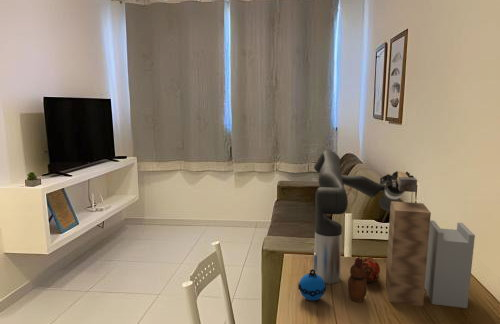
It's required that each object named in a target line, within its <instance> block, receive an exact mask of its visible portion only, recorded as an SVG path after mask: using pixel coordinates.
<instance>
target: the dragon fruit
mask: <svg viewBox="0 0 500 324" xmlns="http://www.w3.org/2000/svg"><path fill="white" fill-rule="evenodd" d="M362 266H364V268H365V276H364V278H365V280H366V283H370V282H372V281H377V280H379V274H380V271H381V269H380V268H381V267H380V265H379V263H378V262H375V260H374V259H373V258H372V257H370V256H369V257H367V258H362Z"/></svg>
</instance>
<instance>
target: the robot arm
mask: <svg viewBox="0 0 500 324" xmlns="http://www.w3.org/2000/svg"><path fill="white" fill-rule="evenodd" d="M313 167H314V170H315V171H316V172H317V173H318V186H319V187H318V188H317V189H316V191H315V197H314V198H315V203H314V204H315V205H314V206H315V224H314V225H315V228H314V249H313V251H314V252H313V263H312V264H313V266H312V269H313V270H315V274H317V275H319V276H320V277H321V278H322V279H323V280H324V282H325V284H328V285H329V284H335V283H339V281H340V280H341V278H340V276H341V259H342V258H341V255H342V252H341V251H342V234H343V233H342V232H343V227H342V225H341V224H340V223H339V222H337V221H335V220H333V219H330V218H329V217H327V216H326V215H342V214H344V213H345V212H346V211H347V209H348V205H349V203H348V202H349V201H348V194H347V191H346V189H345V186H348V187H350V188H352V189H354V190H357V191H359V192H360V193H362V194H364V195H366V196H367V197H369V198H371V199H372V198H375V197H377V195H378V194H379V193H380V192H382V194H381V196H380V198H379V201H378V204H379V207H380V208H381V209H382V210H384V211H387V212H390V206H391V201H394V202H399V200H400V199H401V197H402V196H403V195H404V193H405V192H406V191H399V189H398V183H397V181H396V179H397V177H398V170H396V171H395V172H393V173H392V174H388V173H387V174H386V175H383V176H382V177H380V178H379V180H380V181H379V183H378V182H376V181H374V180H372V179H371V178H369V177H366V176H364V175H353V174H352V175H345V174H342V173H341V172H342V171H341V158H340V156H339V155H338V154H337V153H336V152H335V151H332V150H324V151H322V153H321V154H320V156H318V159H317V160H316V163H315V164H314V165H313ZM405 174H406V175H407V176H408V177H413V178H415V176H414V175H411V174H410V172H408V171H406V172H405ZM312 273H314V272H313V271H312Z"/></svg>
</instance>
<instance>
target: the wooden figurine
mask: <svg viewBox="0 0 500 324" xmlns="http://www.w3.org/2000/svg"><path fill="white" fill-rule="evenodd" d="M362 259H363V256H358V257H357V258H356V259H354V264H352V265H351V266H350V270H349V271H350V272H349V273H350V276H349V277H348V279H347V294H348V297H349V299H351V300H352V301H354V302H362V301H363V300H364V299H365V296H366V294H367V282H366V280H365V278H364V276H365V268H364V266H362Z"/></svg>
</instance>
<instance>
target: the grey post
mask: <svg viewBox="0 0 500 324" xmlns="http://www.w3.org/2000/svg"><path fill="white" fill-rule="evenodd" d="M475 238H476V235H475V233H473V231H472V230H470V228H468V227H467V225H465V224H464V223H463V222H457V224H456V229H452V228H441V227H440V226H439V225H438V223H437V222H436V221H435V220H430V229H429V240H428V252H427V264H426V276H425V288H424V290H426V293H427V296H428V298H429V300H430V302H431V304H432V305H438V306H445V307H446V306H447V307H453V308H462V309H463V308H464V309H468V306H469V305H468V304H469V294H470V285H471V277H472V268H473V267H472V266H473V258H474V257H473V256H474V248H475V247H474V246H475V240H476V239H475Z"/></svg>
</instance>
